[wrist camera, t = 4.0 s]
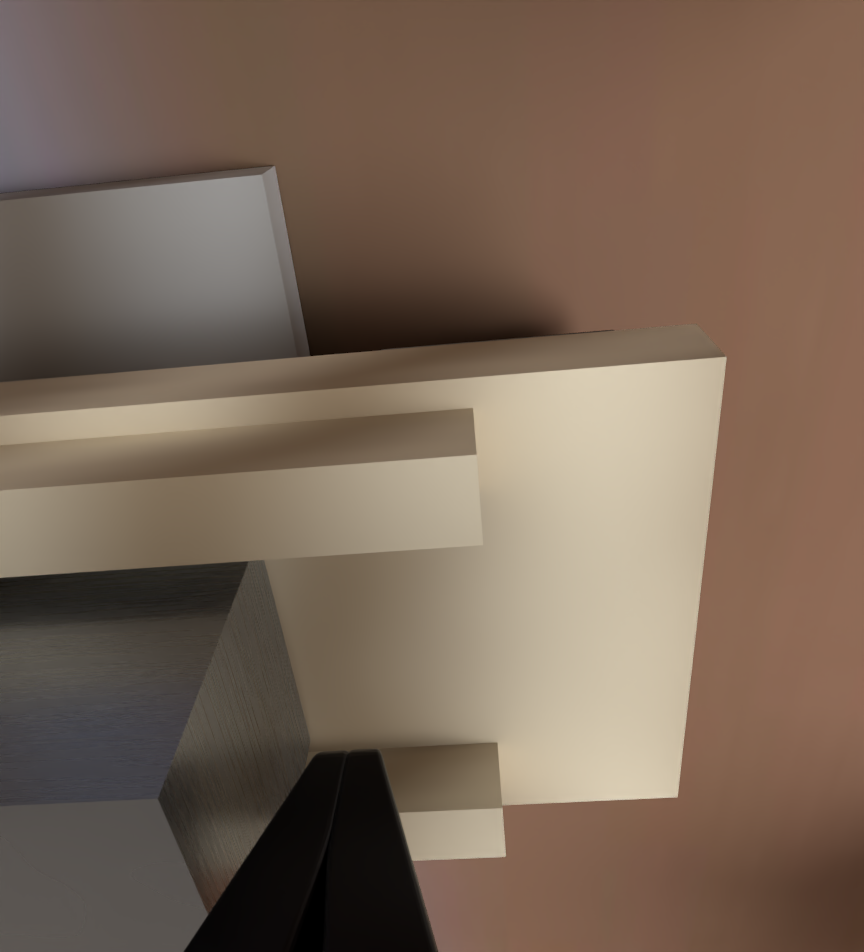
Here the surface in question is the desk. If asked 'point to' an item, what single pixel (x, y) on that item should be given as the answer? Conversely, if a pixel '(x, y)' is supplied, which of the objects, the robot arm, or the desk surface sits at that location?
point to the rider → (137, 750)
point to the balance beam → (369, 495)
